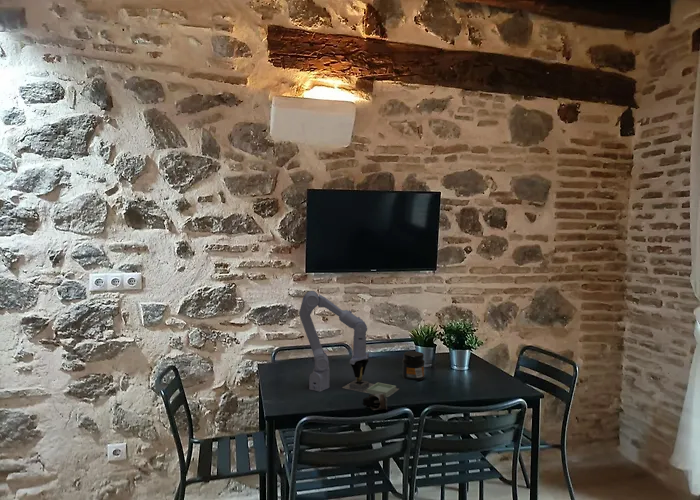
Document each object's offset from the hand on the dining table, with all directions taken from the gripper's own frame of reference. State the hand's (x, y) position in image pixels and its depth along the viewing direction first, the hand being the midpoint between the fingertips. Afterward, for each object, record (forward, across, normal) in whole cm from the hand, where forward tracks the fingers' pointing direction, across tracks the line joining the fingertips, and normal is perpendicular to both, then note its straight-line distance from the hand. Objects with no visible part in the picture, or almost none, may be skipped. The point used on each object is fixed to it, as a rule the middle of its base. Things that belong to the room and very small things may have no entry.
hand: (359, 376), depth 230 cm
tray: (+5, 0, -12) cm, 13 cm away
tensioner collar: (+5, 0, 0) cm, 5 cm away
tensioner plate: (+5, 0, -6) cm, 8 cm away
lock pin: (+2, 0, 0) cm, 2 cm away
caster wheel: (+6, -18, -17) cm, 25 cm away
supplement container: (+5, +25, -16) cm, 30 cm away
